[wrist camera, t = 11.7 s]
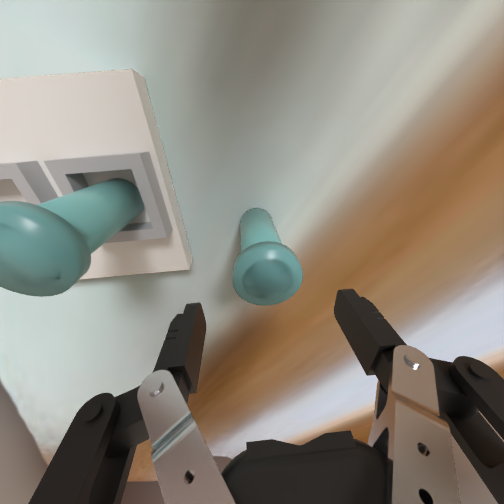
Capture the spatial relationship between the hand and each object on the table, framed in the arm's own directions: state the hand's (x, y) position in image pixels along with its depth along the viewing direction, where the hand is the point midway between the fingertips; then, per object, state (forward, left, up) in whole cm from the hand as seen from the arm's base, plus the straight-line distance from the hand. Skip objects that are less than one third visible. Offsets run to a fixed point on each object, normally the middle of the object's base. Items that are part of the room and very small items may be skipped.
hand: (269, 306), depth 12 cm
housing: (-5, -16, -12) cm, 21 cm away
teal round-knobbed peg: (0, 0, -12) cm, 12 cm away
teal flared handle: (-5, -12, -10) cm, 16 cm away
